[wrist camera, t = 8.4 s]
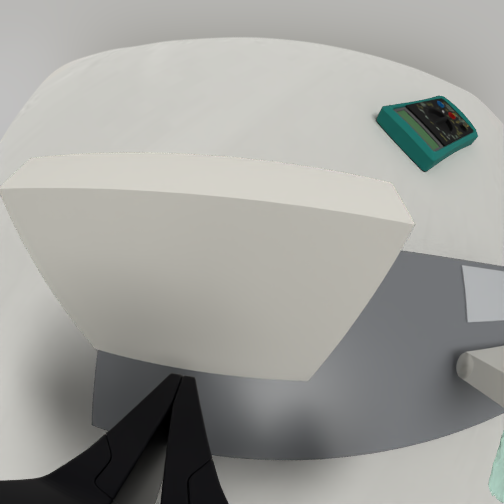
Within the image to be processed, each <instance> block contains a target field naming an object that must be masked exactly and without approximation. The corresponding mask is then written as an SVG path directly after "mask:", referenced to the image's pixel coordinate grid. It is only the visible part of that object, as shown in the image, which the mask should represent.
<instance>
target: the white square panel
mask: <svg viewBox="0 0 504 504" xmlns="http://www.w3.org/2000/svg"><path fill="white" fill-rule="evenodd" d="M0 195H1V197H2V200H3V202H4V204H5V207H6V209H7V211H8V213H9V216H10V218H11V220H12V222H13V224H14V226H15V228H16V230H17V232H18V234H19V236H20V238H21V240H22V242H23V244H24V246H25V247H26V249H27V251H28V253H29V255H30V256H31V258H32V260H33V262H34V263H35V265H36V267H37V268H38V270H39V272H40V273H41V275H42V277H43V278H44V280H45V281H46V283H47V285H48V286H49V288H50V289H51V291H52V292H53V294H54V295H55V297H56V298H57V300H58V301H59V302H60V304H61V305H62V307H63V308H64V310H65V311H66V312H67V314H68V315H69V316H70V318H71V319H72V320H73V322H74V323H75V324H76V326H77V327H78V328H79V330H80V331H81V332H82V333H83V335H84V336H85V337H86V338H87V340H88V341H89V342H90V343H91V344H92V346H93V347H94V348H95V349H97V350H101V351H104V352H108V353H112V354H116V355H120V356H124V357H128V358H132V359H136V360H141V361H145V362H150V363H155V364H159V365H165V366H170V367H175V368H181V369H187V370H193V371H200V372H206V373H214V374H221V375H230V376H239V377H249V378H261V379H275V380H294V381H308V380H309V379H310V378H311V377H312V376H313V375H314V373H315V372H316V371H317V370H318V369H319V367H320V366H321V365H322V364H323V362H324V361H325V360H326V359H327V358H328V356H329V355H330V354H331V352H332V351H333V350H334V349H335V347H336V346H337V345H338V344H339V342H340V341H341V340H342V338H343V337H344V336H345V334H346V333H347V332H348V330H349V329H350V328H351V326H352V325H353V323H354V322H355V321H356V319H357V318H358V316H359V315H360V314H361V312H362V311H363V309H364V308H365V306H366V305H367V304H368V302H369V301H370V299H371V298H372V296H373V295H374V293H375V292H376V290H377V289H378V287H379V285H380V284H381V282H382V281H383V279H384V278H385V276H386V274H387V273H388V271H389V270H390V268H391V266H392V265H393V263H394V261H395V260H396V258H397V256H398V255H399V253H400V251H401V250H402V248H403V246H404V244H405V243H406V241H407V239H408V237H409V235H410V234H411V232H412V230H413V228H414V226H415V223H414V221H413V220H412V218H411V216H410V214H409V212H408V210H407V208H406V207H405V205H404V203H403V201H402V199H401V198H400V196H399V194H398V192H397V191H396V189H395V187H394V186H393V184H392V183H391V182H386V181H382V180H378V179H373V178H368V177H364V176H359V175H354V174H349V173H344V172H338V171H333V170H327V169H321V168H315V167H309V166H303V165H296V164H289V163H282V162H274V161H266V160H257V159H248V158H238V157H227V156H214V155H199V154H180V153H145V152H121V153H86V154H69V155H55V156H44V157H34V158H30V159H29V160H28V161H27V162H26V163H25V164H23V165H22V166H21V167H20V168H19V169H18V170H17V171H16V172H15V173H14V174H13V175H12V176H11V177H10V178H9V179H8V180H6V181H5V182H4V183H3V184H2V186H1V187H0Z"/></svg>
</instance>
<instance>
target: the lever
mask: <svg viewBox="0 0 504 504" xmlns="http://www.w3.org/2000/svg"><path fill="white" fill-rule="evenodd" d="M456 370H457V374H458V376H459V377H460V378H462V379H463V380H465V381H466V382H467V383H469V384H470V385H472V386H473V387H475V388H476V389H478V390H479V391H480V392H482V393H483V394H485V395H486V396H488V397H489V398H490V399H492V400H493V401H495V402H496V403H498V404H499V405H500V406H502V407H503V408H504V346H499V347H493V348H487V349H481V350H474V351H467V352H465V353H463V354H461V355H460V357H459V358H458V361H457V365H456Z"/></svg>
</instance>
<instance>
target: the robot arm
mask: <svg viewBox="0 0 504 504" xmlns="http://www.w3.org/2000/svg"><path fill="white" fill-rule="evenodd" d="M162 480H163V484H162V494H161V504H229V503H228V501H227V499H226V497H225V495H224V493H223V490H222V488H221V485H220V483H219V480H218V476H217V473H216V470H215V466H214V462H213V459H212V454H211V450H210V446H209V442H208V437H207V433H206V428H205V423H204V419H203V414H202V409H201V404H200V399H199V393H198V388H197V382H196V378H195V377H194V376H188V375H184V376H183V375H181V374H176V373H170V374H169V375H168V376H167V377H166V378H165V379H164V380H163V381H162V382H161V383H160V384H159V385H158V386H157V387H155V388H154V389H153V390H152V391H151V392H150V393H149V394H148V395H147V396H146V397H145V398H144V399H143V400H142V401H141V402H140V403H138V404H137V405H136V406H135V407H134V408H133V409H132V410H131V411H130V412H129V413H128V414H127V415H126V416H124V417H123V418H122V419H121V420H120V421H119V422H118V423H117V424H116V425H115V426H114V427H112V428H111V429H110V430H109V431H108V432H107V433H106V435H103V436H102V437H101V438H100V439H99V440H98V441H97V442H96V443H94V444H93V445H92V446H91V447H89V448H88V449H87V450H86V451H84V452H83V453H81V454H80V455H78V456H77V457H76V458H74V459H72V460H71V461H69V462H68V463H66V464H65V465H63V466H61V467H60V468H58V469H57V470H55V471H53V472H52V473H50V474H48V475H46V476H43V477H40V478H34V479H24V480H6V481H0V504H155V503H156V499H157V496H158V493H159V490H160V486H161V483H162Z"/></svg>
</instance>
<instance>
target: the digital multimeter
mask: <svg viewBox="0 0 504 504" xmlns="http://www.w3.org/2000/svg"><path fill="white" fill-rule="evenodd" d="M376 120H377V122H378V123H379V124H380V125H381V127H382V128H383V129H384V130H385V131H386V132H387V133H388V134H389V136H390V137H391V138H392V139H393V140H394V141H395V142H396V143H397V144H398V145H399V146H400V148H401V149H402V150H403V151H404V152H405V153H406V154H407V155H408V156H409V157H410V158H411V159H412V160H413V161H414V162H415V163H416V164H417V165H418V166H419V167H420V168H421V169H422V170H423V171H428V170H429V169H431V168H432V167H433V166H435V165H436V164H438V163H439V162H440V161H442V160H443V159H445V158H446V157H448V156H449V155H451V154H453V153H454V152H456V151H458V150H460V149H462V148H464V147H466V146H469V145H471V144H472V143H473V142H474V140H475V139H476V138H477V137H478V135H477V132H476V129H475V128H474V126H473V125H472V124H471V122H470V121H469V120H468V119H467V117H466V116H465V115H464V114H463V113H462V112H461V111H460V110H459V109H458V108H457V107H456V106H455V105H454V104H453V103H451V102H450V101H449V100H448V99H446V98H445V97H443V96H436V97H432V98H429V99H424V100H419V101H414V102H409V103H402V104H395V105H389V106H383V107H382V109H381V111H380V113H379V115H378V117H377V119H376ZM464 136H465V137H464ZM462 137H463V138H462ZM460 138H461V139H460ZM458 139H459V140H458ZM456 140H457V141H456Z"/></svg>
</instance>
